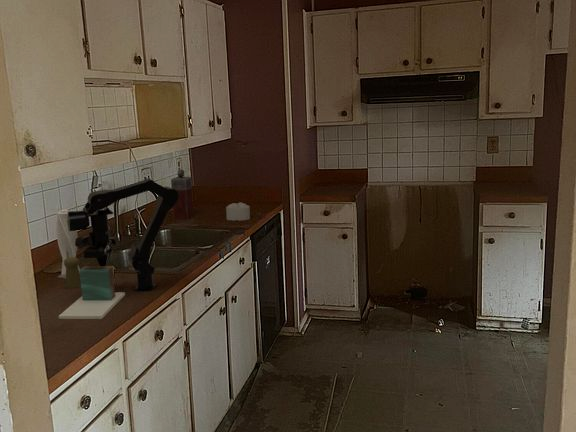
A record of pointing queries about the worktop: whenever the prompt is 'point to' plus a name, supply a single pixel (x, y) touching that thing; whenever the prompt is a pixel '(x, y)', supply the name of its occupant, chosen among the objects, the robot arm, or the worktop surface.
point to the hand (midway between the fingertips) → (103, 270)
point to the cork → (72, 273)
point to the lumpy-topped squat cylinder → (238, 211)
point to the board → (91, 308)
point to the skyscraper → (65, 239)
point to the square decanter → (183, 196)
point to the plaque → (97, 283)
